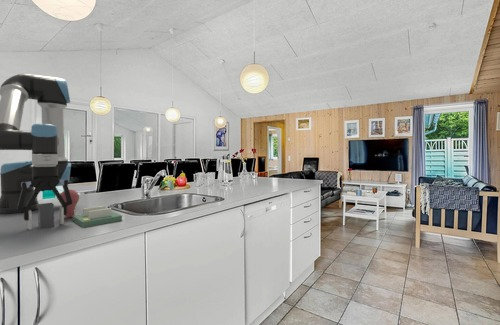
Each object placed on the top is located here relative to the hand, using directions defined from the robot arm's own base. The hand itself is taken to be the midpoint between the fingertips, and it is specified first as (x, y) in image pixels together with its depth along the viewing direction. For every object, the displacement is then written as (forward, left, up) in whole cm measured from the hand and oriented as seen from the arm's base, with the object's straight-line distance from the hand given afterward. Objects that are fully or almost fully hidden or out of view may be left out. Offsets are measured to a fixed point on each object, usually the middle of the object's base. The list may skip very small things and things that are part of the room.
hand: (46, 226), depth 96 cm
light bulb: (-10, +9, 0) cm, 14 cm away
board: (+4, +16, 0) cm, 16 cm away
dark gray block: (0, 0, 0) cm, 0 cm away
